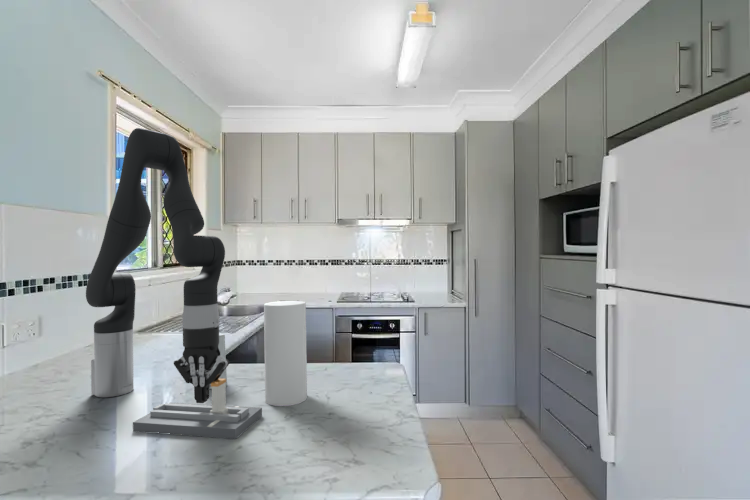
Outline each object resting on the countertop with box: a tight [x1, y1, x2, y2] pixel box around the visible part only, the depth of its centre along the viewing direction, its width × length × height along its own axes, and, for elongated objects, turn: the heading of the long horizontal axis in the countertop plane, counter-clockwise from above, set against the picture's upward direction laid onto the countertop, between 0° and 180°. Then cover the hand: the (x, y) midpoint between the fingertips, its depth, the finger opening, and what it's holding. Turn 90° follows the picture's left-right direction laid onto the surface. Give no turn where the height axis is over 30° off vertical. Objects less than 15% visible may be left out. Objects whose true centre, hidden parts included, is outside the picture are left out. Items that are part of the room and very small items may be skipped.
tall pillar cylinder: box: [263, 300, 308, 407], centre depth 108 cm, size 11×11×25 cm
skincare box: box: [209, 332, 228, 390], centre depth 121 cm, size 8×6×15 cm
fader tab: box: [210, 379, 228, 414], centre depth 92 cm, size 3×3×8 cm
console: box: [132, 402, 263, 440], centre depth 93 cm, size 24×12×3 cm, turn 79°
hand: (202, 401), depth 93 cm, fingers closed
